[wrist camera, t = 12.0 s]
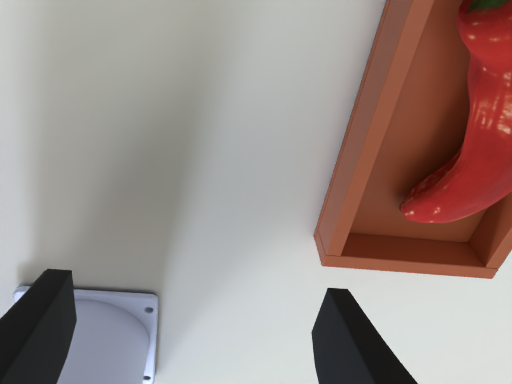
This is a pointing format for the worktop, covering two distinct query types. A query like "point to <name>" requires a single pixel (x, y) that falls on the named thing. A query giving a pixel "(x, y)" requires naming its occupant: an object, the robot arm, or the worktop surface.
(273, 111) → the worktop surface
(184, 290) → the worktop surface
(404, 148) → the tray
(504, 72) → the vegetable
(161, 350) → the worktop surface
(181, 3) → the worktop surface
